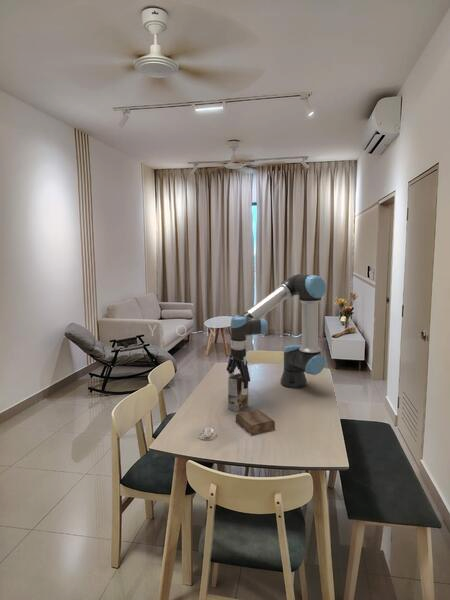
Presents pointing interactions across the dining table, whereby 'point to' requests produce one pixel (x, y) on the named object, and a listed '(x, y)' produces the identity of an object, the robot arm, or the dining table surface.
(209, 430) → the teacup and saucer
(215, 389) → the dining table surface
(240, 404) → the coffee box
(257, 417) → the walnut base
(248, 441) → the dining table surface
